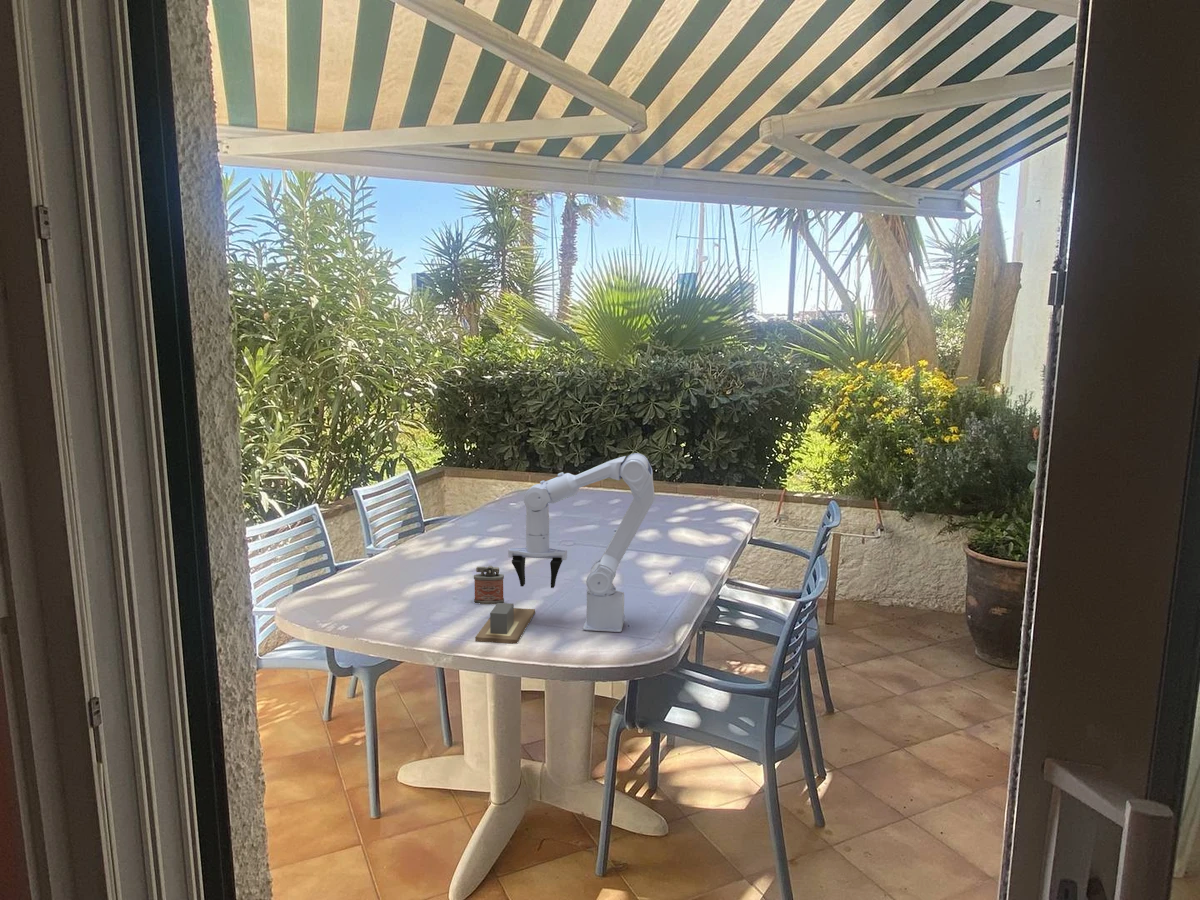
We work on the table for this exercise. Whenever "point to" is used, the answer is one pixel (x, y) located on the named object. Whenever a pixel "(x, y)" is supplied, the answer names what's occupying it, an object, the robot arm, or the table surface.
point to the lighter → (488, 586)
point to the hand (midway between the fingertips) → (537, 585)
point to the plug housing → (502, 618)
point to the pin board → (515, 632)
